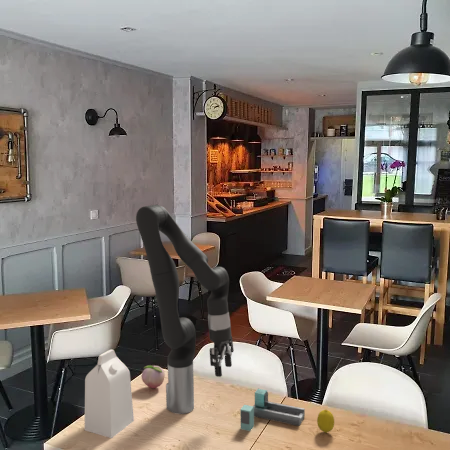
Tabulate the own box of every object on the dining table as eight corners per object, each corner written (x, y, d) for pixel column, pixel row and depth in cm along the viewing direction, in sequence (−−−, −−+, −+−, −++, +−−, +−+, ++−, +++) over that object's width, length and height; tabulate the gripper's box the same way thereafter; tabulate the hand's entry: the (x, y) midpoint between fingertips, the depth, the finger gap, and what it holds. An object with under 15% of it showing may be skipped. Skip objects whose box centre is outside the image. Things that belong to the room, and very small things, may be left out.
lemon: (334, 438, 157) (334, 414, 156) (316, 436, 158) (317, 413, 157) (334, 429, 163) (334, 406, 162) (317, 427, 164) (317, 404, 163)
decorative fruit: (169, 385, 196) (168, 361, 195) (159, 394, 189) (158, 369, 187) (148, 382, 200) (148, 358, 198) (138, 390, 192) (137, 366, 191)
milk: (107, 413, 174) (104, 344, 171) (133, 420, 169) (131, 349, 166) (84, 430, 164) (80, 356, 160) (111, 438, 159) (108, 362, 155)
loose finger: (244, 423, 166) (244, 404, 166) (254, 426, 165) (253, 406, 164) (240, 429, 163) (239, 409, 162) (249, 431, 162) (249, 411, 161)
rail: (249, 415, 172) (249, 394, 171) (256, 406, 178) (256, 386, 177) (299, 426, 165) (299, 403, 164) (304, 416, 171) (304, 395, 170)
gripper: (218, 319, 175) (222, 362, 176) (200, 331, 162) (205, 378, 163) (237, 319, 172) (241, 364, 173) (221, 332, 159) (225, 380, 160)
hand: (223, 371), depth 168 cm, fingers open, 8 cm apart
